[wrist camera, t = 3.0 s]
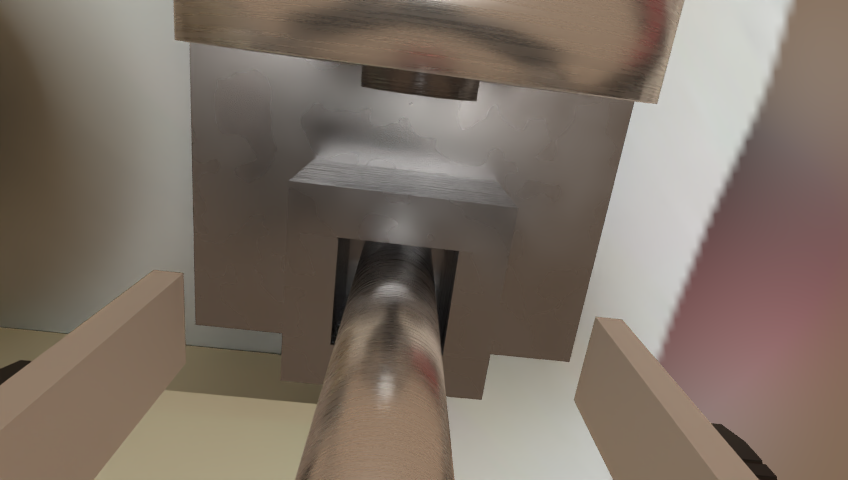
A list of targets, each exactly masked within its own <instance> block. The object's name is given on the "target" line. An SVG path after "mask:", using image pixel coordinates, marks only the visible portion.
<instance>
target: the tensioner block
mask: <svg viewBox="0 0 848 480" xmlns="http://www.w3.org/2000/svg"><path fill="white" fill-rule="evenodd" d="M683 4H684V0H174V33H175V40H179V41H185V42H190V84H191V131H192V178H193V225H194V271H195V318H196V325H205V326H215V327H225V328H235V329H245V330H255V331H265V332H275V333H282V355H281V380H280V381H288V382H298V383H309V384H320V385H323V382H324V379H325V375H326V372H327V368H328V365H329V361H330V358H331V355H332V351H333V348H334V344H335V341H336V337H337V334H338V331H339V327H340V324H341V320H342V317H343V314H344V310H345V307H346V303H347V300H348V296H349V293H350V290H351V286H352V283H353V279H354V276H355V272H356V269H357V266H358V262H359V259H360V255H361V252H362V249H363V245H364V243H365V241H375V242H384V243H393V244H402V245H411V246H420V247H428V248H431V254H432V264H433V274H434V284H435V293H436V303H437V313H438V323H439V333H440V343H441V352H442V362H443V372H444V382H445V392H446V396H447V397H458V398H468V399H479V400H482V395H483V390H484V384H485V379H486V374H487V369H488V364H489V358H490V354H495V355H505V356H515V357H525V358H535V359H545V360H555V361H565V362H569V361H570V357H571V353H572V349H573V345H574V341H575V337H576V333H577V329H578V325H579V321H580V317H581V313H582V309H583V305H584V301H585V297H586V293H587V289H588V285H589V281H590V277H591V273H592V269H593V265H594V261H595V257H596V253H597V249H598V245H599V241H600V237H601V233H602V229H603V225H604V221H605V217H606V213H607V209H608V205H609V201H610V197H611V193H612V189H613V185H614V181H615V177H616V173H617V169H618V165H619V161H620V157H621V153H622V149H623V145H624V141H625V137H626V133H627V129H628V125H629V121H630V117H631V113H632V109H633V105H634V101H635V102H643V103H652V104H657V102H658V99H659V95H660V91H661V87H662V83H663V80H664V76H665V72H666V68H667V64H668V61H669V57H670V53H671V49H672V46H673V42H674V38H675V34H676V30H677V27H678V23H679V19H680V15H681V12H682V8H683Z"/></svg>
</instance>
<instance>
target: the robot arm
mask: <svg viewBox="0 0 848 480" xmlns="http://www.w3.org/2000/svg"><path fill="white" fill-rule="evenodd" d="M185 364H186V348H185V313H184V279H183V273H177V272H168V271H158V270H153V271H152V272H150V273H149V274H148V275H146V276H145V277H144V278H142V279H141V280H140V281H138V282H137V283H136V284H134V285H133V286H132V287H130V288H129V289H128V290H126V291H125V292H124V293H122V294H121V295H120V296H118V297H117V298H116V299H114V300H113V301H112V302H110V303H109V304H108V305H106V306H105V307H104V308H102V309H101V310H100V311H98V312H97V313H96V314H94V315H93V316H92V317H90V318H89V319H88V320H86V321H85V322H84V323H82V324H81V325H80V326H78V327H77V328H76V329H74V330H73V331H72V332H70V333H69V334H68V335H66V336H65V337H64V338H62V339H61V340H60V341H58V342H57V343H56V344H54V345H53V346H52V347H50V348H49V349H48V350H46V351H45V352H44V353H42V354H41V355H40V356H38V357H37V358H36V359H34V360H33V361H26V360H19V361H17V362H15V363H12V364H10V365H8V366H5V367H3V368H1V369H0V480H94V479H95V477H96V476H97V475H98V474H99V472H100V471H101V470H102V468H103V467H104V466H105V465H106V463H107V462H108V461H109V460H110V458H111V457H112V456H113V455H114V453H115V452H116V451H117V450H118V448H119V447H120V446H121V444H122V443H123V442H124V441H125V439H126V438H127V437H128V436H129V434H130V433H131V432H132V431H133V429H134V428H135V427H136V425H137V424H138V423H139V422H140V420H141V419H142V418H143V417H144V415H145V414H146V413H147V412H148V410H149V409H150V408H151V407H152V405H153V404H154V403H155V401H156V400H157V399H158V398H159V396H160V395H161V394H162V393H163V391H164V390H165V389H166V388H167V386H168V385H169V384H170V382H171V381H172V380H173V379H174V377H175V376H176V375H177V374H178V372H179V371H180V370H181V369H182V367H183V366H184V365H185ZM574 401H575V403H576V405H577V407H578V409H579V411H580V413H581V415H582V417H583V419H584V421H585V424H586V426H587V428H588V430H589V432H590V434H591V436H592V438H593V440H594V442H595V444H596V446H597V448H598V450H599V452H600V454H601V456H602V458H603V460H604V462H605V464H606V466H607V468H608V470H609V472H610V474H611V476H612V478H613V480H777V476H776V475H774V473H773V472H772V471H771V470H770V469H769V468H768V467H767V465H765V464H762V460H761V459H760V458H759V456H758V455H757V454H756V453H755V452H754V451H753V450H752V449H751V448H750V447H749V445H748V444H747V443H746V442H745V441H744V440H742V439H741V438H739V437H738V436H737V435H735V434H734V433H732V432H731V431H730V430H728V429H727V428H725V427H724V426H723V425H722V424H712V423H710V422H709V421H708V419H707V418H706V417H705V416H704V415H703V414H702V413H701V411H700V410H699V409H698V408H697V407H696V406H695V404H694V403H693V402H692V401H691V400H690V399H689V397H688V396H687V395H686V394H685V393H684V392H683V390H682V389H681V388H680V387H679V386H678V384H677V383H676V382H675V381H674V380H673V379H672V378H671V376H670V375H669V374H668V373H667V372H666V370H665V369H664V368H663V367H662V366H661V364H660V363H659V362H658V361H657V360H656V359H655V357H654V356H653V355H652V354H651V353H650V352H649V350H648V349H647V348H646V347H645V346H644V345H643V343H642V342H641V341H640V340H639V339H638V338H637V336H636V335H635V334H634V333H633V332H632V331H631V329H630V328H629V327H628V326H627V325H626V324H625V322H624V321H623V320H621V319H611V318H602V317H595V321H594V325H593V329H592V332H591V336H590V340H589V344H588V348H587V352H586V355H585V359H584V363H583V367H582V371H581V375H580V378H579V382H578V386H577V390H576V394H575V398H574Z"/></svg>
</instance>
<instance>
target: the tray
mask: <svg viewBox="0 0 848 480" xmlns="http://www.w3.org/2000/svg"><path fill="white" fill-rule="evenodd" d="M66 335H68V334H64V333H54V332H44V331H34V330H23V329H13V328H3V327H0V369H1V368H3V367H5V366H8V365H10V364H12V363H15V362H17V361H19V360H26V361H33V360H34V359H36V358H37V357H38V356H40V355H41V354H42V353H44V352H45V351H46V350H48V349H49V348H50V347H52V346H53V345H54V344H56V343H57V342H58V341H60V340H61V339H62V338H64V337H65V336H66ZM185 348H186V364H185V365H184V366H183V367H182V369H181V370H180V371H179V372H178V374H177V375H176V376H175V377H174V379H173V380H172V381H171V382H170V384H169V385H168V386H167V388H166V389H165V390H164V391H163V393H162V394H161V395H160V396H159V398H158V399H157V400H156V401H155V403H154V404H153V405H152V407H151V408H150V409H149V410H148V412H147V413H146V414H145V415H144V417H143V418H142V419H141V420H140V422H139V423H138V424H137V425H136V427H135V428H134V429H133V431H132V432H131V433H130V434H129V436H128V437H127V438H126V439H125V441H124V442H123V443H122V444H121V446H120V447H119V448H118V450H117V451H116V452H115V453H114V455H113V456H112V457H111V458H110V460H109V461H108V462H107V463H106V465H105V466H104V467H103V468H102V470H101V471H100V472H99V474H98V475H97V476H96V477H95V479H94V480H295V478H296V474H297V471H298V467H299V464H300V461H301V457H302V454H303V450H304V447H305V444H306V440H307V437H308V433H309V430H310V426H311V423H312V420H313V416H314V413H315V409H316V406H317V402H318V399H319V396H320V392H321V389H322V385H320V384H309V383H298V382H288V381H280V380H281V355H280V354H270V353H260V352H249V351H239V350H229V349H219V348H208V347H198V346H188V345H185Z"/></svg>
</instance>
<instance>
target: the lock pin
mask: <svg viewBox="0 0 848 480" xmlns="http://www.w3.org/2000/svg"><path fill="white" fill-rule="evenodd" d="M295 480H454V470H453V460H452V451H451V441H450V431H449V421H448V411H447V402H446V392H445V382H444V372H443V362H442V352H441V343H440V333H439V323H438V313H437V303H436V293H435V284H434V274H433V264H432V254H431V248H428V247H420V246H411V245H402V244H393V243H384V242H375V241H365V243H364V245H363V249H362V252H361V255H360V259H359V262H358V266H357V269H356V272H355V276H354V279H353V283H352V286H351V290H350V293H349V296H348V300H347V303H346V307H345V310H344V314H343V317H342V320H341V324H340V327H339V331H338V334H337V337H336V341H335V344H334V348H333V351H332V355H331V358H330V361H329V365H328V368H327V372H326V375H325V379H324V382H323V385H322V389H321V392H320V396H319V399H318V402H317V406H316V409H315V413H314V416H313V420H312V423H311V426H310V430H309V433H308V437H307V440H306V444H305V447H304V450H303V454H302V457H301V461H300V464H299V467H298V471H297V474H296V478H295Z"/></svg>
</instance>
